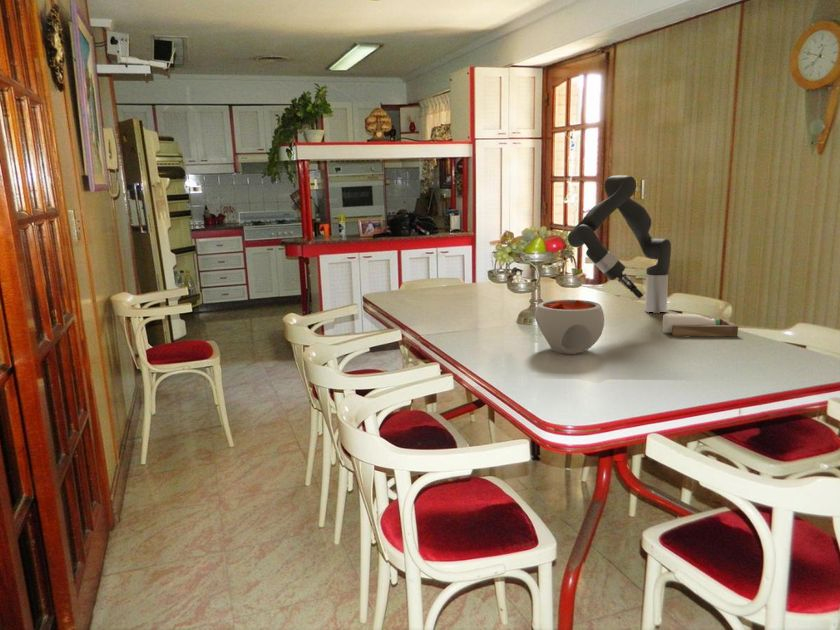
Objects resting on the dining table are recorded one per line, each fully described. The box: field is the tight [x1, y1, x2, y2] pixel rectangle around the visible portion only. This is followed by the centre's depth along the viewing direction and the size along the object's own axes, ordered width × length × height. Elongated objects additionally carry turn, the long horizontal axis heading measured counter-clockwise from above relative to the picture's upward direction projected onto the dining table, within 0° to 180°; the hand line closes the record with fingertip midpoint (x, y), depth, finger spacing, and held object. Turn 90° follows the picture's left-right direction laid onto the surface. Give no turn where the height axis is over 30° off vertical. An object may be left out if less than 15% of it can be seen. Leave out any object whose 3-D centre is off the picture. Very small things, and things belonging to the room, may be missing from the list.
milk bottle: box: [662, 313, 720, 334], centre depth 243 cm, size 8×8×20 cm
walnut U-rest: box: [671, 317, 739, 338], centre depth 245 cm, size 15×23×4 cm, turn 82°
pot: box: [534, 299, 605, 355], centre depth 222 cm, size 24×24×18 cm
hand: (641, 296), depth 245 cm, fingers closed
